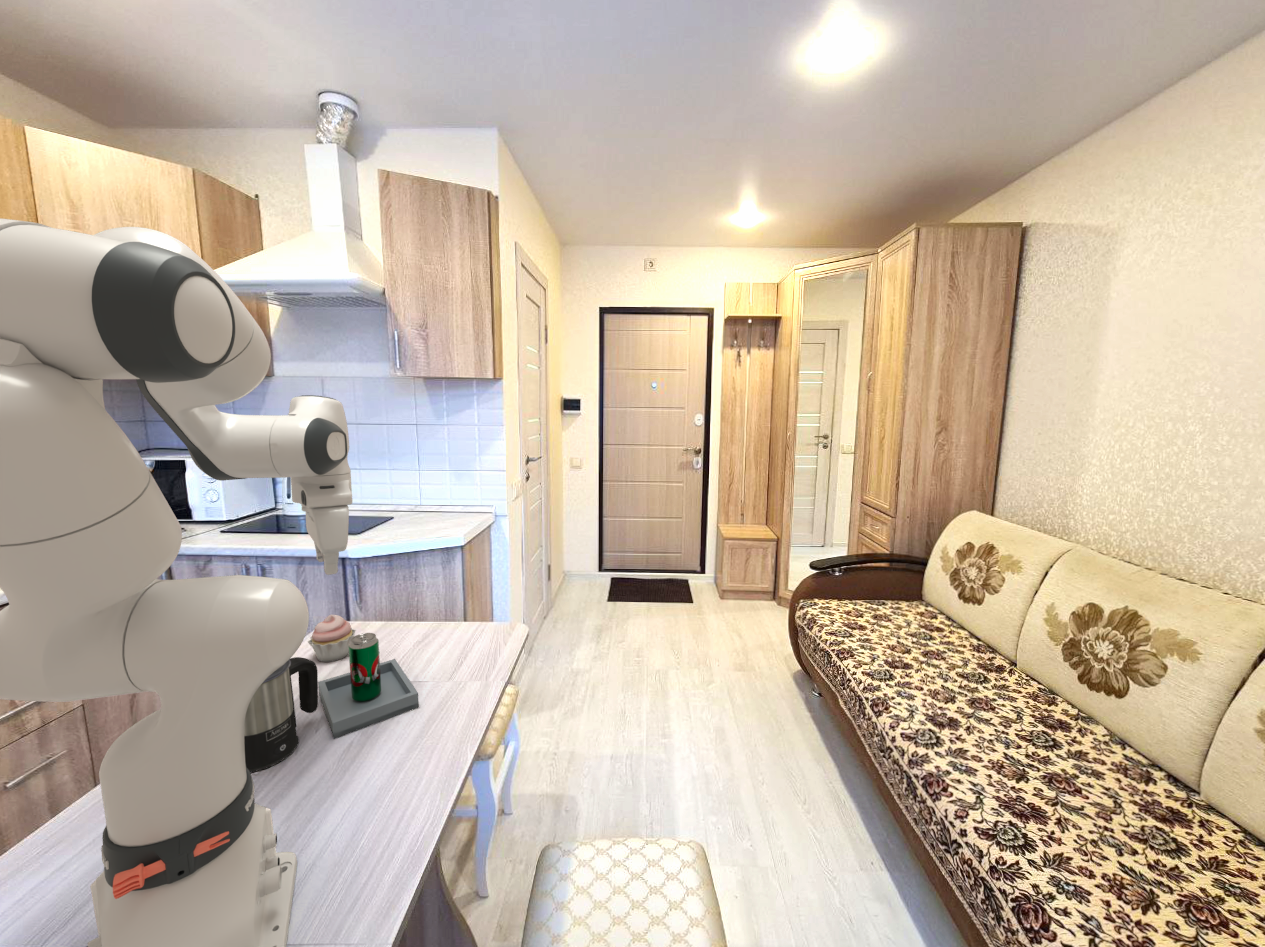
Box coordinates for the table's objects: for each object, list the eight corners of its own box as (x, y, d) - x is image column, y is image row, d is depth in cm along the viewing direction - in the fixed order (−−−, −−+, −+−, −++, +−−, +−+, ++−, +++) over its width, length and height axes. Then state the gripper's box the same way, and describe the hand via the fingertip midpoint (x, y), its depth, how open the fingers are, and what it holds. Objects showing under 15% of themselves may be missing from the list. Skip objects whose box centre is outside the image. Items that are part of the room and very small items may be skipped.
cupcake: (300, 667, 104) (297, 624, 103) (321, 646, 113) (318, 606, 112) (347, 665, 106) (344, 622, 104) (363, 644, 115) (361, 604, 113)
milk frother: (269, 776, 74) (261, 687, 72) (170, 772, 74) (159, 684, 72) (329, 717, 88) (324, 641, 86) (246, 714, 89) (239, 639, 87)
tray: (418, 707, 91) (418, 692, 91) (333, 739, 82) (332, 723, 82) (395, 671, 103) (394, 658, 103) (319, 696, 94) (318, 682, 94)
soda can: (376, 685, 97) (373, 629, 95) (385, 695, 93) (382, 638, 91) (348, 695, 93) (344, 637, 91) (356, 707, 90) (352, 647, 88)
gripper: (294, 485, 89) (299, 557, 91) (307, 499, 74) (313, 585, 75) (333, 482, 93) (337, 551, 95) (354, 495, 78) (358, 577, 79)
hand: (326, 566), depth 85 cm, fingers open, 8 cm apart
